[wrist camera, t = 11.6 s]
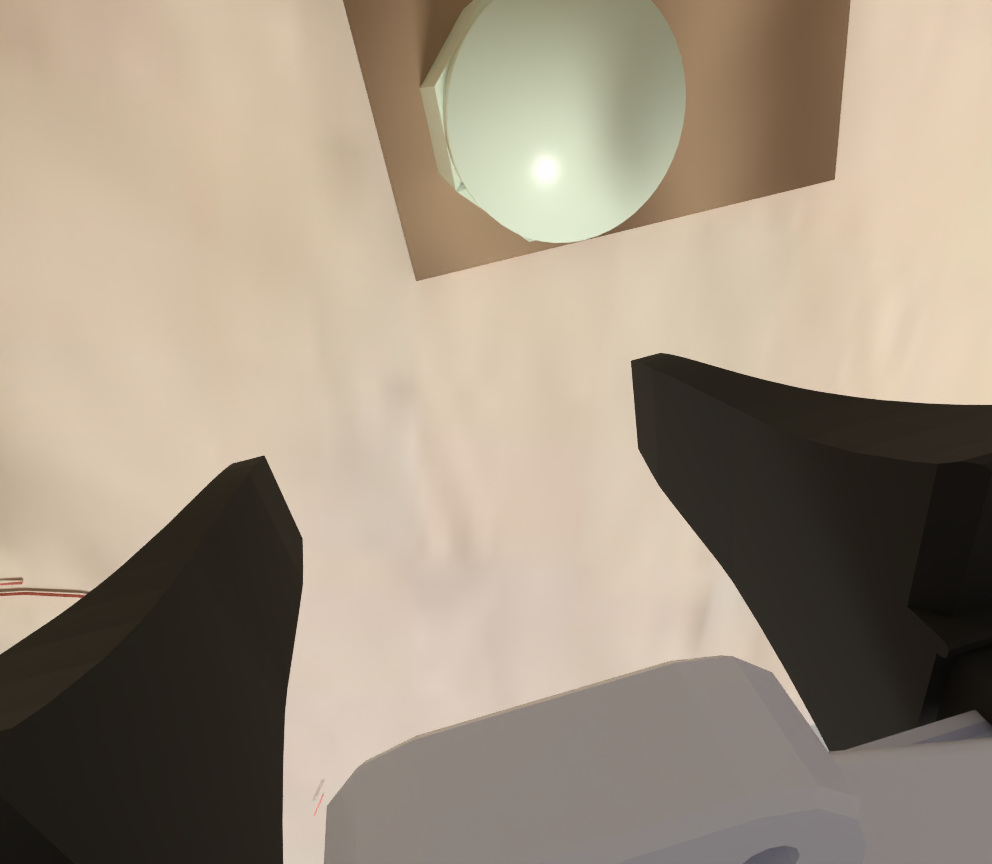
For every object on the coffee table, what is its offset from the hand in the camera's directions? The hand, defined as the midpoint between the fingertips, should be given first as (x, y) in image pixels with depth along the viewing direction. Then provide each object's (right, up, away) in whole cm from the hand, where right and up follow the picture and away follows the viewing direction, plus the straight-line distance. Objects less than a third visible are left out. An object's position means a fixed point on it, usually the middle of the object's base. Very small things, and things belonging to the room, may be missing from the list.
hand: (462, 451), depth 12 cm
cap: (+1, +9, +5) cm, 11 cm away
